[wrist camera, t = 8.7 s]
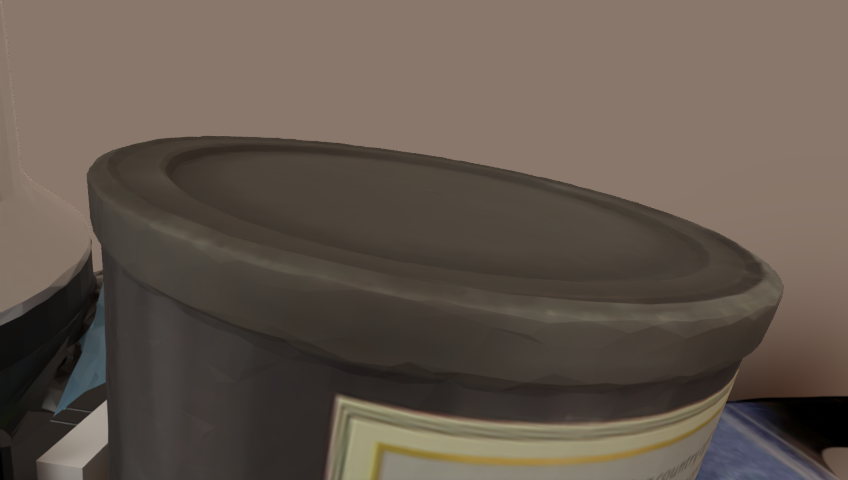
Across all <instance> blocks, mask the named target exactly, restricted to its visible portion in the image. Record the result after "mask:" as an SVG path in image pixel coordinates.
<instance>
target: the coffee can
mask: <svg viewBox="0 0 848 480" xmlns="http://www.w3.org/2000/svg"><path fill="white" fill-rule="evenodd" d="M87 183H88V195H89V205H90V206H89V207H90V219H91V223H92V226H93V231H94V233H95V235H96V237H97V238H98V240H99V242H100V244H101V247H102V248H101V249H102V262H103V281H104V315H105V344H106V395H107V415H108V458H109V480H695V478H696V476H697V473H698V471H699V468H700V466H701V463H702V461H703V459H704V456H705V454H706V451H707V449H708V446H709V444H710V441H711V439H712V436H713V434H714V431H715V429H716V426H717V424H718V421H719V419H720V416H721V414H722V411H723V408H724V406H725V403H726V401H727V398H728V395H729V393H730V391H731V388H732V385H733V383H734V380H735V378H736V375H737V373H738V370H739V367H740V363H741V361H742V359H743V358H744V357H745V356H747V355H749V354H750V353H752V352H753V351H754V350H755V349H756V348H757V347H758V345H759V344H760V343H761V341H762V339H763V337H764V335H765V333H766V331H767V329H768V327H769V325H770V323H771V321H772V319H773V317H774V315H775V313H776V310H777V308H778V305H779V303H780V301H781V298H782V295H783V287H784V286H783V284H782V281H781V279H780V277H779V275H778V274H777V273H776V271H775V270H773V269H772V268H771V267H770V266H769V265H768V264H767V263H766V262H764V261H763V260H761V259H760V258H759V257H758V256H756V255H755V254H753V253H752V252H750V251H748V250H746V249H745V248H743V247H742V246H740V245H739V244H738V243H736V242H734V241H732V240H730V239H728V238H726V237H725V236H723V235H721V234H719V233H717V232H715V231H712V230H710V229H707V228H704V227H702V226H700V225H698V224H695V223H693V222H690V221H688V220H685V219H683V218H680V217H677V216H674V215H672V214H669V213H666V212H663V211H660V210H657V209H654V208H651V207H647V206H644V205H642V204H639V203H636V202H632V201H629V200H626V199H622V198H619V197H616V196H613V195H608V194H605V193H601V192H597V191H594V190H590V189H586V188H582V187H578V186H575V185H572V184H568V183H563V182H560V181H555V180H551V179H547V178H543V177H536V176H532V175H528V174H524V173H519V172H515V171H510V170H505V169H500V168H495V167H490V166H485V165H480V164H474V163H469V162H464V161H456V160H451V159H447V158H443V157H435V156H428V155H423V154H416V153H408V152H401V151H394V150H388V149H381V148H371V147H370V148H369V147H362V146H354V145H348V144H340V143H329V142H318V141H302V140H295V139H280V138H260V137H230V136H202V137H181V138H164V139H156V140H152V141H148V142H143V143H138V144H133V145H130V146H126V147H122V148H119V149H116V150H112V151H110V152H108V153H106V154H104V155H102V156H101V157H99V158H98V159H97V160H96V161H95V162H94V164H93V165H92V166H91V167H90V168H89V171H88V173H87Z"/></svg>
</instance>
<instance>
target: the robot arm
mask: <svg viewBox="0 0 848 480" xmlns="http://www.w3.org/2000/svg"><path fill="white" fill-rule="evenodd" d="M91 242H92V241H91V237H90V232H89V228H88V225H87V222H86V219H85V218H84V216H82V214H81V213H80V212H79V211H78V210H77V209H76V208H74V207H73V206H72V205H70V204H69V203H67V202H66V201H65V200H63V199H61V198H60V197H58V196H57V195H55V194H53V193H52V192H50V191H49V190H47V189H45V188H44V187H42V186H41V185H39V184H37V183H36V182H34V181H32V180H31V179H30V178H29V177H28V176H27V175H26V174H25V172H24V171H23V170H22V165H21V156H20V147H19V139H18V130H17V122H16V113H15V105H14V96H13V87H12V79H11V70H10V62H9V53H8V44H7V36H6V27H5V19H4V10H3V2H2V0H0V480H109V458H108V415H107V395H106V344H105V315H104V281H103V270H101V271H97V272H93V265H92V251H91Z"/></svg>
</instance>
